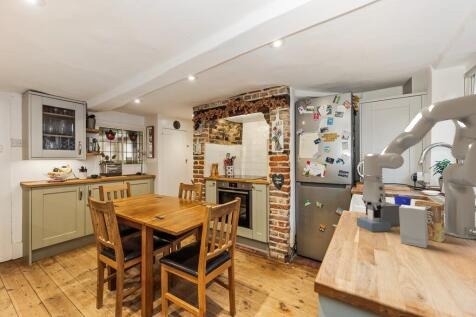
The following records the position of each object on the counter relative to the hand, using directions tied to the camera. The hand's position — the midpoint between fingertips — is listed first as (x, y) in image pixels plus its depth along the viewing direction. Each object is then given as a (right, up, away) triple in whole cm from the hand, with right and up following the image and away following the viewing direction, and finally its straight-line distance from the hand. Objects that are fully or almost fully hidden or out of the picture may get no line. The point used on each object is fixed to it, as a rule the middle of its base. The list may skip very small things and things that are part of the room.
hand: (373, 216), depth 107 cm
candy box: (+15, -6, -14) cm, 21 cm away
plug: (0, -5, 0) cm, 5 cm away
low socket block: (0, -6, 0) cm, 6 cm away
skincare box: (+4, -6, -20) cm, 21 cm away
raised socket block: (+11, -6, +9) cm, 15 cm away
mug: (+34, -6, +25) cm, 42 cm away
